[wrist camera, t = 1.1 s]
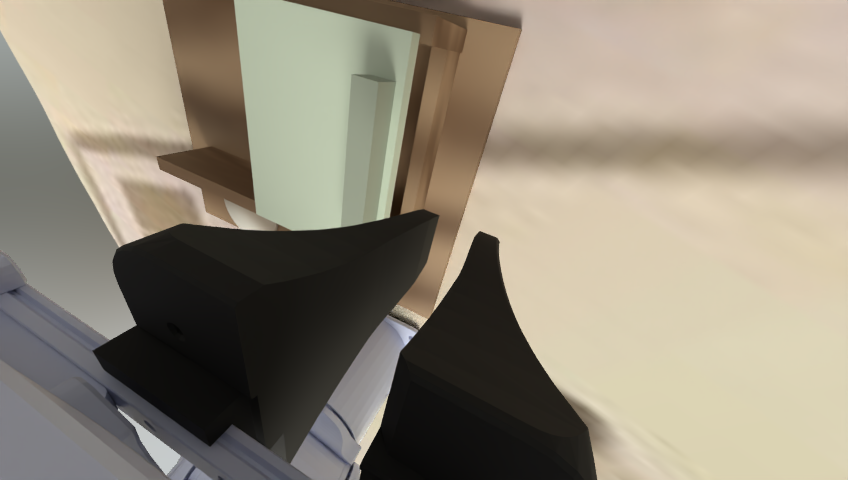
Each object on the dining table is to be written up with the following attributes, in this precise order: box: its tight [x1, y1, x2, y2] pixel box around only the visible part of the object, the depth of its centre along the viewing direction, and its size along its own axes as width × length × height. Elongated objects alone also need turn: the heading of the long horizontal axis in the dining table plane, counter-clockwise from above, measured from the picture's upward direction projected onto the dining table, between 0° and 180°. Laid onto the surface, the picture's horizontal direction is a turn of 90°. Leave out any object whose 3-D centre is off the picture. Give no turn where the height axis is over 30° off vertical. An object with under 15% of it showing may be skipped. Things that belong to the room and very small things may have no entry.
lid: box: [234, 0, 420, 231], centre depth 15 cm, size 12×9×2 cm
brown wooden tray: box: [157, 0, 522, 319], centre depth 21 cm, size 20×25×5 cm
